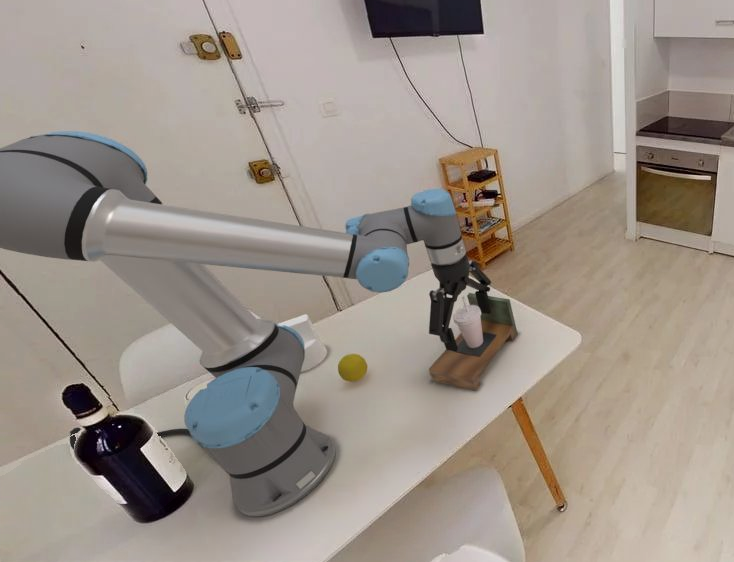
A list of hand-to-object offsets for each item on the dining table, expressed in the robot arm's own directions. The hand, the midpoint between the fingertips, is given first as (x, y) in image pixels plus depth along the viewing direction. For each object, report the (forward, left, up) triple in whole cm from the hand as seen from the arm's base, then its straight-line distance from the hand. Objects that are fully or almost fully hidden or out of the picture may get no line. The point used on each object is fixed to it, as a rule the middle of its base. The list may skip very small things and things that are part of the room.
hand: (469, 330), depth 101 cm
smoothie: (0, 0, -5) cm, 5 cm away
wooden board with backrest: (0, -1, -9) cm, 9 cm away
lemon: (-24, -14, -9) cm, 29 cm away
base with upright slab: (-43, -12, -9) cm, 45 cm away
